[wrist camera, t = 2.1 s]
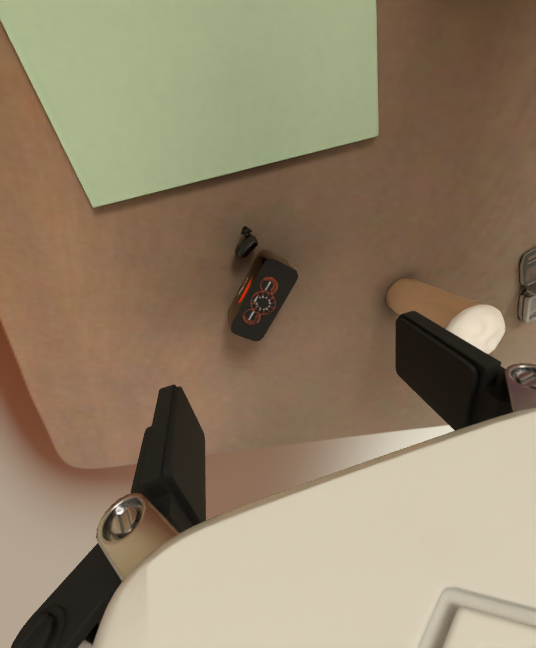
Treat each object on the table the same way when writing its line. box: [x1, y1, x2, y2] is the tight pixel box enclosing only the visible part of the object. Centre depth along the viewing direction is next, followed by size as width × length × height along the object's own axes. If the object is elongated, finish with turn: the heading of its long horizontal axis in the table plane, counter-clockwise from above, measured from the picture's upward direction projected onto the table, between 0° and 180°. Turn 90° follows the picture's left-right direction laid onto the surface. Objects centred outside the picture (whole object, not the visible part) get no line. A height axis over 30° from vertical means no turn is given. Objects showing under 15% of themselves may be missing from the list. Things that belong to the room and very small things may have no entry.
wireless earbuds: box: [228, 226, 298, 341], centre depth 22 cm, size 5×7×3 cm, turn 151°
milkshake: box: [386, 278, 505, 354], centre depth 22 cm, size 4×5×10 cm
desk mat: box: [0, 0, 378, 208], centre depth 16 cm, size 14×20×1 cm
